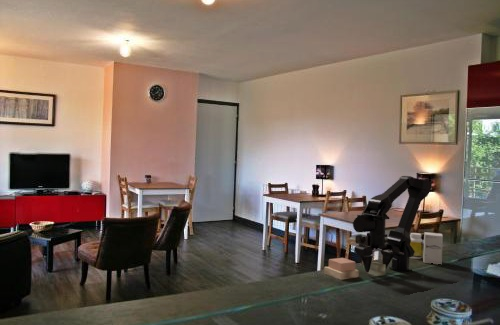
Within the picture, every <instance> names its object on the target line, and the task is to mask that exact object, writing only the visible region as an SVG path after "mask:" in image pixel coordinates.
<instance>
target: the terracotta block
mask: <svg viewBox="0 0 500 325" xmlns="http://www.w3.org/2000/svg"><path fill="white" fill-rule="evenodd" d="M328 266H329V267H330V268H332V269H335V270H338V271H340V272H343V271H350V270H355V269H356V261H354V260H351V259H347V258H345V257H338V258H336V257H335V258H329V259H328Z"/></svg>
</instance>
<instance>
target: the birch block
mask: <svg viewBox="0 0 500 325" xmlns="http://www.w3.org/2000/svg"><path fill="white" fill-rule="evenodd" d="M359 272H360V270H359V269H357V268H355V270H350V271H343V272H340V271H338V270H335V269H332V268H330V267H329V265H328V266H324V267H323V273H324V274H325V275H327V276H330V277H332V278H334V279H336V280H340V281H343V280H347V279H348V280H349V279H354V278H359V274H360V273H359Z"/></svg>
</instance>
